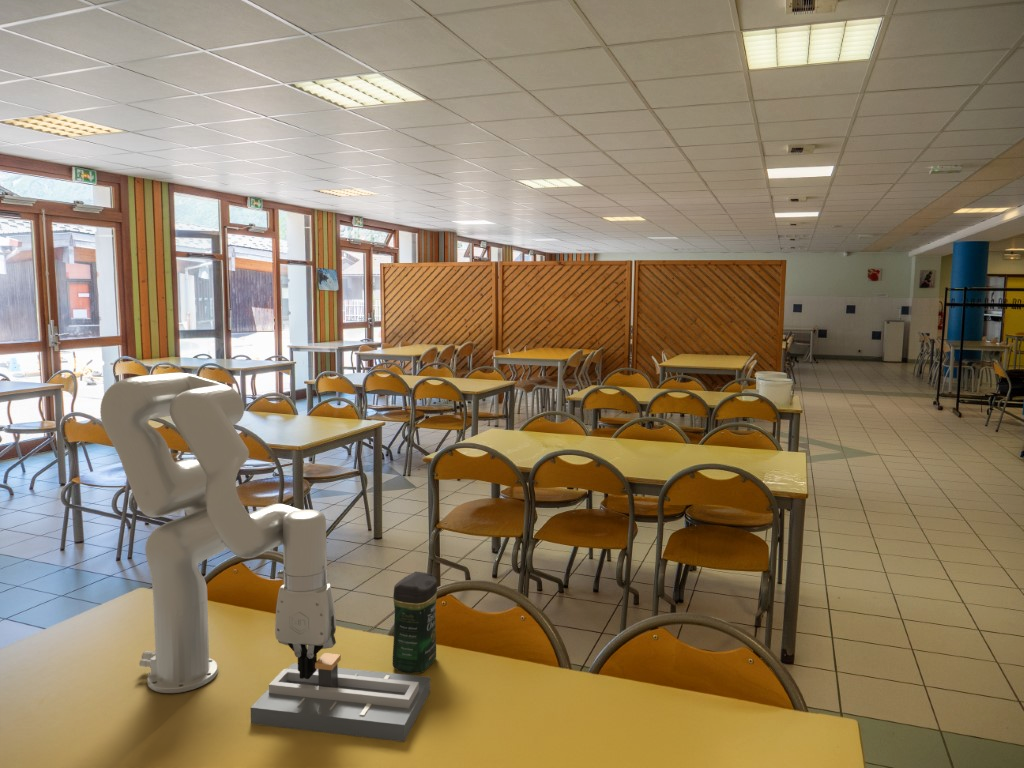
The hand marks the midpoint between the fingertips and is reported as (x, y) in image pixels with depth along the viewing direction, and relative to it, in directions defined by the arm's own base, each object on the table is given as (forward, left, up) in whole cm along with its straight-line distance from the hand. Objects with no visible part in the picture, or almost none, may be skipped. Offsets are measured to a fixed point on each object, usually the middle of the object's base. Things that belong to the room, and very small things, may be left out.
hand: (307, 675), depth 131 cm
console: (+7, 0, -6) cm, 9 cm away
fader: (+4, 0, -3) cm, 5 cm away
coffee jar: (+15, +18, -6) cm, 24 cm away
